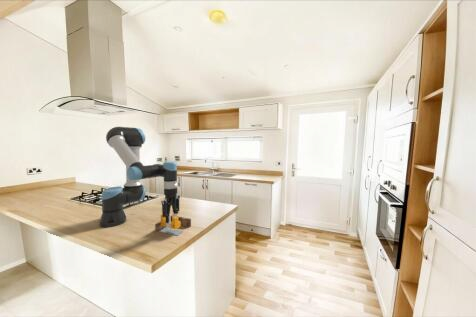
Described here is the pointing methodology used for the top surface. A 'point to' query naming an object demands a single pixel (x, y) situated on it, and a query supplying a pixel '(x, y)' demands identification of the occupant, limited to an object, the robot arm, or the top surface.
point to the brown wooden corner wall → (183, 220)
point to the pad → (171, 231)
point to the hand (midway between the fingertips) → (171, 225)
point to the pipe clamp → (174, 222)
